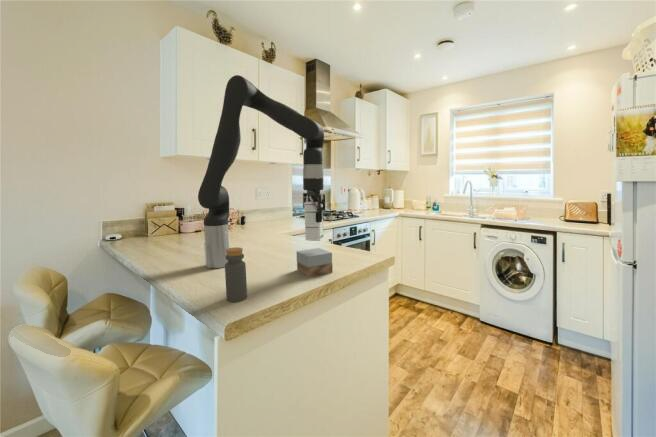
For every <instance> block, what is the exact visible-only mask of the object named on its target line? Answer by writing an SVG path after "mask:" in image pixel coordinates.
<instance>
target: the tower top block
mask: <svg viewBox="0 0 656 437" xmlns="http://www.w3.org/2000/svg"><path fill="white" fill-rule="evenodd" d="M295 252H296V263H297V262H299V263H301V264H303V265H305V266H307V267H313V266H319V265H325V264H330V263H332V264H333V252H331V251H329V250H326V249H323V248H320V247H315V248H309V249H308V248H307V249H302V250H296V251H295Z"/></svg>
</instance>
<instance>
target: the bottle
mask: <svg viewBox="0 0 656 437" xmlns="http://www.w3.org/2000/svg"><path fill="white" fill-rule="evenodd" d="M243 250H244V248H243V247H229V249H226V252H227V255H226V260H228V262H227V263H226V264H225V267H224V274H225V275H224V278H225V291H226V292H225V294H226V301H227V302H230V303H231V302H232V303H237V302H242V301H244V300H246V299H247V298H248V284H247V283H248V282H247V268H246V267H247V266H246V262H245V261H243V259H244V258H245V255H244V253H243Z"/></svg>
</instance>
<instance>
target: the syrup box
mask: <svg viewBox="0 0 656 437" xmlns="http://www.w3.org/2000/svg"><path fill="white" fill-rule="evenodd" d="M315 203H316V204H318V202H315ZM317 208H318V206H317ZM303 209H304V230H305V231H304V233H305V235H304V236H305V241H310V242H320V241H321V240H322V239H324V215H323V212H324V211H323V212H322V222H319V223H317V222H316V210H315V208H314V207H313V205H312V202H311V201H309V202H305V203H304V208H303Z"/></svg>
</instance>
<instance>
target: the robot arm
mask: <svg viewBox="0 0 656 437" xmlns="http://www.w3.org/2000/svg"><path fill="white" fill-rule="evenodd" d="M222 102H223V104H222V110H221V114H220V118H219V123H218V125H217V126H218V127H217V130H216V134H215V137H214V140H213V146H212V149H211V154H210V157H209V160H208V164H207V169H206V172H205V175H204V177H203V180H202V182H201V185H200V187H199V189H198V194H197V200H198V203H199V205H200V207H202V208H204V209H208V213H207V215H206V216H205V217H204V219H203V230H204V231H203V233H204V235H203V236H204V243H203V244H204V259H205V260H204V261H205V267H206V268H207V269H221V268H222V269H223V268H225V264H226V263H227V262H228V260H226V255H227V252H226V249H229V248H230V239H229V217H230V196H229V192H228V190H227V188H226V187H224V186H223V185H222V183H223V180H224V177H225V176H226V173H227V172H228V171H229V169H230V168H231V166H232V165H233V163H234V162H235V161H236V158H237V156H238V154H239V150H240V145H241V140H242V138H241V125H240V120H241V119H240V118H241V113H242V109H243V106H244V107H247V108H249V109H250V108H251V109H254V110H256V111H259V112H261V113H262V114H264V115H266V116H267V117H268V118H270V119H271V120H273V122H276V123H277V124H278V125H280V126H282V127H284V128H286V129H288V130H289V131H292V132H293V133H295V134H296V135H298V136H299V137H301V138H302V139H304V140H306V142H305V143H306V144H305V149H303V155H302V156H303V160H302V161H303V164H302V166H303V168H302V183H303V184H302V186H303V188H302V189H303V191H306V192H303V193H302V208H303V209H304V203H305V202H309V201H311V202H312V205H313V207H314V208H315V210H316V222H317V223H319V222H322V212H324V211H326V194H325V193H321V191H323V190H324V169H323V168H324V167H323V150H324V149H323V148H324V142H325V131H324V127H323V126H322V125H321V124H320V123H318V122H317V121H315V120H313V119H312V118H309V117H308V116H305V115H303V114H301V113H300V112H298V111H297V110H295V109H294V108H291V107H290V106H288V105H286V104H285V103H282V102H279V101H277V100H275V99H272V98H271V97H269V96H267V95H266V94H265V93H264V92H262V91H261V90H260V89H259V88H258V87H257V86H255V84H253V83H252V82H251V81H250V80H248V79H247V78H245V77H244V76H242V75H236V74H235V75H233V76H231V77H230V78H229V80H228V81H227V83H226V86H225V91H224V96H223V101H222ZM315 202H318V204H316V203H315ZM317 206H318V208H317Z"/></svg>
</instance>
